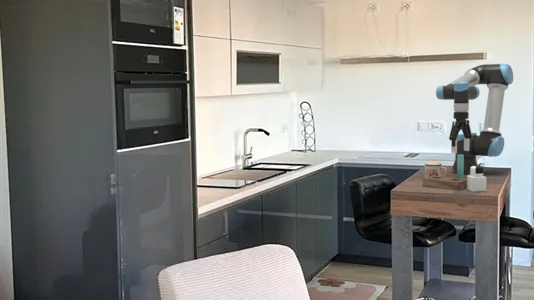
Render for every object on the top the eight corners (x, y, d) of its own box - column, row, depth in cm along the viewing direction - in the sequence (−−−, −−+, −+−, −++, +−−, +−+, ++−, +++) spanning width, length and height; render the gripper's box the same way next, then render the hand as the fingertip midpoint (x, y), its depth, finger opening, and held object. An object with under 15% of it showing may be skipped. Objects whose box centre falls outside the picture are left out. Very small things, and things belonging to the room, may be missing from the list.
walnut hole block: (434, 183, 331) (434, 175, 331) (469, 187, 317) (469, 179, 317) (422, 186, 323) (422, 178, 322) (458, 190, 309) (458, 182, 308)
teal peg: (458, 182, 333) (459, 154, 331) (464, 182, 330) (464, 154, 329) (455, 182, 330) (456, 154, 329) (461, 183, 328) (461, 155, 327)
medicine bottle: (480, 189, 311) (481, 165, 310) (486, 191, 304) (486, 167, 303) (466, 189, 311) (467, 165, 309) (471, 191, 304) (472, 167, 302)
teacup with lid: (422, 180, 341) (422, 159, 339) (426, 178, 349) (426, 157, 347) (445, 181, 335) (445, 160, 334) (448, 179, 343) (448, 158, 342)
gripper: (465, 110, 338) (465, 149, 340) (442, 112, 320) (441, 153, 322) (478, 110, 333) (478, 150, 335) (456, 112, 315) (455, 154, 317)
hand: (460, 151), depth 328 cm, fingers open, 13 cm apart
